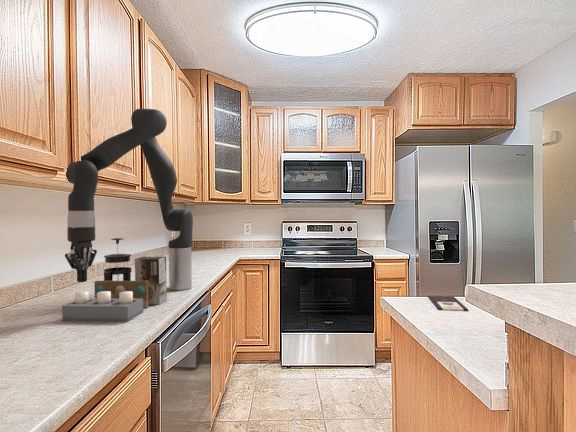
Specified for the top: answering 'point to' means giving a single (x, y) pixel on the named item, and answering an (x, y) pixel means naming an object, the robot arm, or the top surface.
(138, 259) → the coffee box
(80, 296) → the button
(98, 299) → the button
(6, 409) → the top surface
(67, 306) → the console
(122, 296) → the button
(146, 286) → the placard
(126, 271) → the french press
